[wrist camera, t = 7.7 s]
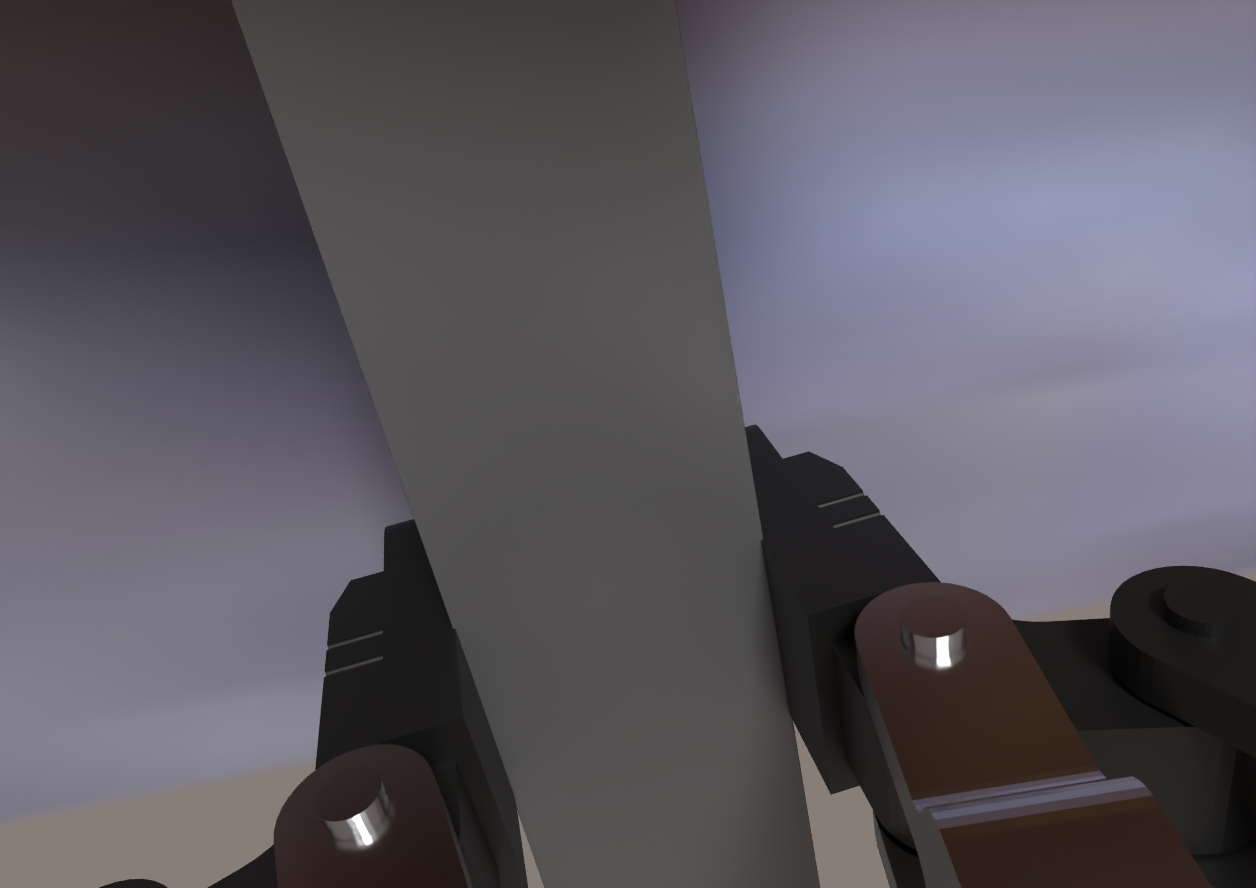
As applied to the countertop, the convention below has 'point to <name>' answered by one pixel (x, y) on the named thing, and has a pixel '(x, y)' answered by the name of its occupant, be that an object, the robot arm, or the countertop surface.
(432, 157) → the tall gray bar
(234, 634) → the countertop surface
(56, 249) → the countertop surface
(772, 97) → the countertop surface
